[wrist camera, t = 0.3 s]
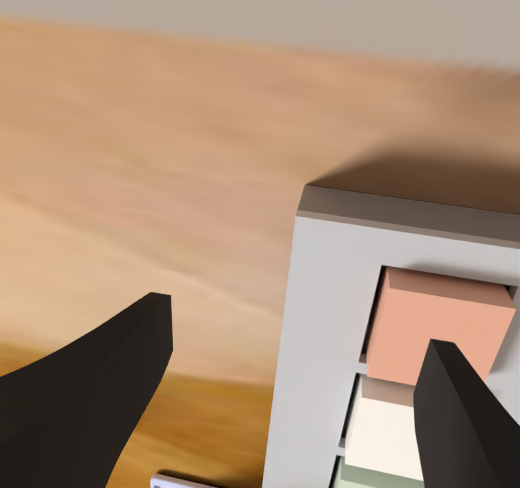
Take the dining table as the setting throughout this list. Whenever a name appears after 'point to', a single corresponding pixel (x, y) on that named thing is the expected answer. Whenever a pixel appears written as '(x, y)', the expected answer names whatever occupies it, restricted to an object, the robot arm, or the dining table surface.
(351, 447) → the cream key
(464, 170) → the dining table surface
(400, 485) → the sage key
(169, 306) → the robot arm
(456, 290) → the terracotta key
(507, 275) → the keypad base
